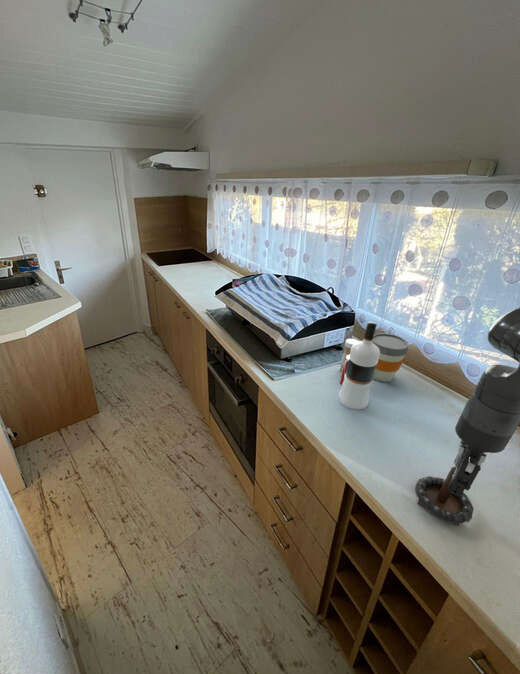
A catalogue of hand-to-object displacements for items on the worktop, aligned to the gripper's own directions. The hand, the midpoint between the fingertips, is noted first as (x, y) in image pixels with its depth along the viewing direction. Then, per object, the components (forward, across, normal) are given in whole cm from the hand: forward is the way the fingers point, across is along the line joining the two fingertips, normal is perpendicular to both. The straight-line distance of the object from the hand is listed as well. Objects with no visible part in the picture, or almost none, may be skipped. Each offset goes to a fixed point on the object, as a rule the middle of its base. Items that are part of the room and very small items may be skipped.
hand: (456, 478), depth 63 cm
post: (+13, +4, 0) cm, 14 cm away
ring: (+11, +4, 0) cm, 12 cm away
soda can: (+13, +34, +34) cm, 50 cm away
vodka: (+13, +26, +29) cm, 41 cm away
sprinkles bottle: (+13, +43, +38) cm, 59 cm away
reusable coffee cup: (+13, +49, +27) cm, 58 cm away
